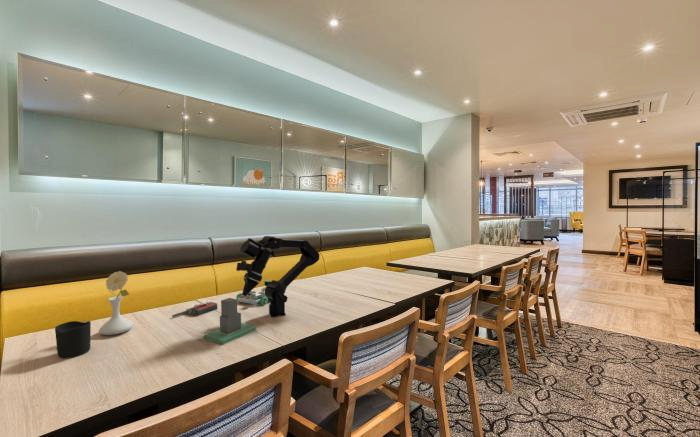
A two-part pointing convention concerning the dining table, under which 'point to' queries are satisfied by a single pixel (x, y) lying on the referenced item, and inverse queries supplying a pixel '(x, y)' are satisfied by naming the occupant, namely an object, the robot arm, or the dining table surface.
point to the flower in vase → (116, 306)
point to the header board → (225, 338)
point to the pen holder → (73, 338)
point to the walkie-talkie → (199, 309)
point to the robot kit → (254, 296)
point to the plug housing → (229, 316)
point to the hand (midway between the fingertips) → (243, 295)
